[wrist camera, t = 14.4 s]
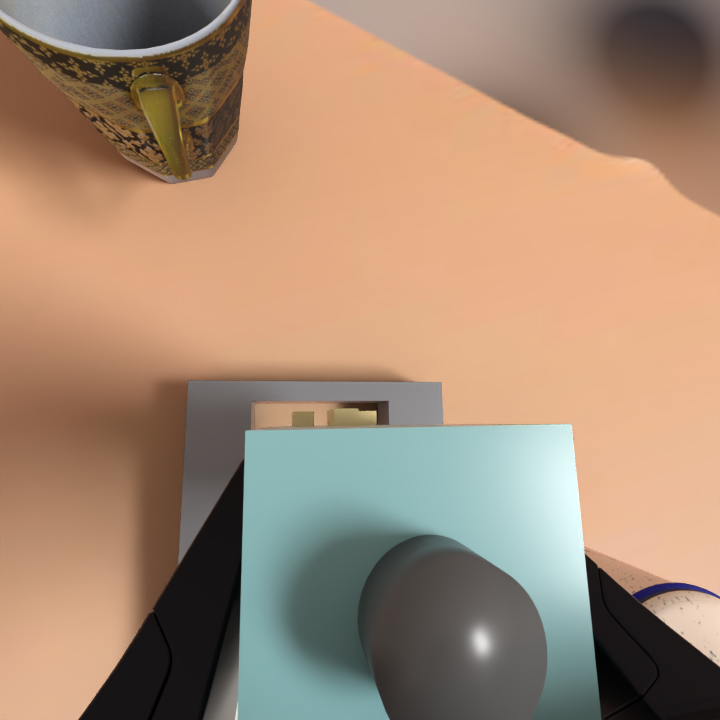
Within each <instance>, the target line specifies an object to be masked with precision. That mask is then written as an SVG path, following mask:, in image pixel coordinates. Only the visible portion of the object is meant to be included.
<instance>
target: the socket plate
mask: <svg viewBox="0 0 720 720" xmlns="http://www.w3.org/2000/svg"><path fill="white" fill-rule="evenodd" d="M255 403H378V425H443V407H442V384H441V382H339V381H198V380H188V393H187V411H186V430H185V448H184V466H183V485H182V503H181V521H180V540H179V558H178V565H179V563H180V562H181V560H182V558H183V557H184V555H185V553H186V552H187V550H188V548H189V547H190V545H191V543H192V542H193V540H194V538H195V537H196V535H197V533H198V532H199V530H200V529H201V527H202V525H203V524H204V522H205V520H206V519H207V517H208V515H209V514H210V512H211V510H212V509H213V507H214V505H215V504H216V502H217V500H218V499H219V497H220V495H221V494H222V492H223V490H224V489H225V487H226V486H227V484H228V482H229V481H230V479H231V477H232V476H233V474H234V472H235V471H236V469H237V467H238V466H239V464H240V462H241V461H242V460H243V459H244V458H245V431H247V430H254V421H255Z"/></svg>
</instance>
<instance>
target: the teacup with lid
mask: <svg viewBox="0 0 720 720" xmlns="http://www.w3.org/2000/svg"><path fill="white" fill-rule="evenodd" d="M584 552H585V554H586V555H587V556H588V557H590V558H591V559H592V560H593V561H594V562H595V563H596V564H597V565H598V567H600V568H602V569H603V570H604V571H605V572H606V573H607V574H608V575H610V576H611V577H612V578H613V579H614V580H615V581H616V582H617V583H618V584H620V585H621V586H622V587H623V588H624V589H625V590H626V591H628V592H629V593H630V594H631V595H632V596H633V597H634V598H636V599H637V600H638V601H639V602H640V603H641V604H643V605H644V606H645V607H646V608H647V609H649V610H650V611H651V612H652V613H653V614H655V615H656V616H657V617H658V618H660V619H661V620H662V621H663V622H664V623H666V624H667V625H668V626H669V627H671V628H672V629H673V630H674V631H676V632H677V633H678V634H679V635H681V636H682V637H683V638H684V639H686V640H687V641H688V642H689V643H691V644H692V645H693V646H694V647H696V648H697V649H698V650H699V651H701V652H702V653H703V654H704V655H706V656H707V657H708V658H709V659H711V660H712V661H713V662H715V663H716V664H717V665H718V666H720V597H719V596H718V595H716V594H714V593H712V592H710V591H708V590H706V589H703V588H701V587H698V586H694V585H690V584H686V583H673V582H670V581H668V580H665V579H663V578H661V577H658V576H656V575H653V574H651V573H648V572H646V571H643V570H641V569H639V568H636V567H634V566H631V565H629V564H626V563H624V562H621V561H619V560H616V559H614V558H612V557H609V556H607V555H604V554H602V553H599V552H597V551H594V550H592V549H590V548H587V547H585V546H584Z"/></svg>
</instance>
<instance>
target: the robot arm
mask: <svg viewBox="0 0 720 720" xmlns="http://www.w3.org/2000/svg"><path fill="white" fill-rule="evenodd" d="M244 463H245V458H244V459H243V460H242V461H241V462H240V464H239V466H238V467H237V469H236V471H235V472H234V474H233V476H232V477H231V479H230V481H229V482H228V484H227V486H226V487H225V489H224V490H223V492H222V494H221V495H220V497H219V499H218V500H217V502H216V504H215V505H214V507H213V509H212V510H211V512H210V514H209V515H208V517H207V519H206V520H205V522H204V524H203V525H202V527H201V529H200V530H199V532H198V533H197V535H196V537H195V538H194V540H193V542H192V543H191V545H190V547H189V548H188V550H187V552H186V553H185V555H184V557H183V558H182V560H181V562H180V563H179V565H178V567H177V568H176V570H175V572H174V573H173V575H172V576H171V578H170V580H169V581H168V583H167V585H166V586H165V588H164V590H163V591H162V593H161V595H160V596H159V598H158V600H157V601H156V603H155V605H154V606H153V608H152V610H153V612H154V613H153V612H150V613H149V614H148V616H147V617H146V619H145V621H144V622H143V624H142V626H141V627H140V629H139V631H138V632H137V634H136V636H135V637H134V639H133V640H132V642H131V643H130V645H129V647H128V648H127V650H126V651H125V653H124V654H123V656H122V658H121V659H120V661H119V662H118V664H117V665H116V667H115V669H114V670H113V671H112V673H111V674H110V676H109V677H108V678H107V680H106V681H105V683H104V684H103V686H102V687H101V688H100V690H99V691H98V693H97V694H96V696H95V697H94V698H93V700H92V701H91V703H90V704H89V706H88V707H87V708H86V710H85V711H84V712H83V714H82V715H81V717H80V718H79V719H78V720H235V716H236V709H237V703H238V681H239V645H240V608H241V572H242V535H243V499H244ZM585 562H586V572H587V582H588V592H589V602H590V612H591V622H592V631H593V641H594V651H595V661H596V671H597V681H598V691H599V701H600V710H601V720H720V666H718V665H717V664H716V663H715V662H713V661H712V660H711V659H709V658H708V657H707V656H706V655H704V654H703V653H702V652H701V651H699V650H698V649H697V648H696V647H694V646H693V645H692V644H691V643H689V642H688V641H687V640H686V639H684V638H683V637H682V636H681V635H679V634H678V633H677V632H676V631H674V630H673V629H672V628H671V627H669V626H668V625H667V624H666V623H664V622H663V621H662V620H661V619H660V618H658V617H657V616H656V615H655V614H653V613H652V612H651V611H650V610H649V609H647V608H646V607H645V606H644V605H643V604H641V603H640V602H639V601H638V600H637V599H636V598H634V597H633V596H632V595H631V594H630V593H629V592H628V591H626V590H625V589H624V588H623V587H622V586H621V585H620V584H618V583H617V582H616V581H615V580H614V579H613V578H612V577H611V576H610V575H608V574H607V573H606V572H605V571H604V570H603V569H602V568H600V567H598V565H597V564H596V563H595V562H594V561H593V560H592V559H591V558H590V557H588V556H587V555H586V554H585Z"/></svg>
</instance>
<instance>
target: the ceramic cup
mask: <svg viewBox="0 0 720 720" xmlns="http://www.w3.org/2000/svg"><path fill="white" fill-rule="evenodd" d="M251 4H252V0H0V30H1V31H2V32H3V33H4V34H5V35H6V36H7V37H8V38H9V39H10V40H11V41H12V42H13V44H14V45H15V46H16V47H17V48H18V49H19V50H20V51H21V52H22V53H23V54H24V55H25V56H26V57H27V58H28V59H29V61H30V62H31V63H32V64H33V65H34V66H35V67H36V68H37V69H38V70H39V71H40V72H41V73H42V74H43V75H44V76H45V77H46V78H47V79H48V80H50V81H51V82H52V83H53V84H54V85H55V86H56V87H57V88H58V89H59V90H61V91H62V92H63V93H64V94H65V95H66V96H67V98H68V99H69V100H70V101H71V102H72V103H73V104H74V106H75V107H76V108H77V109H78V110H79V111H80V112H81V113H82V114H83V115H84V116H85V117H86V118H87V119H88V120H89V121H90V122H91V123H92V124H93V126H94V127H95V128H96V129H97V130H98V131H99V132H100V133H101V134H102V135H103V136H104V137H105V138H106V139H107V140H108V141H109V143H110V144H111V145H112V146H113V147H114V148H115V149H116V150H117V151H118V152H119V153H120V154H121V155H122V156H123V157H124V158H125V159H127V160H128V161H130V162H132V163H134V164H135V165H137V166H139V167H141V168H143V169H144V170H146V171H148V172H150V173H152V174H153V175H155V176H157V177H159V178H161V179H162V180H164V181H166V182H168V183H171V184H174V183H180V182H186V181H191V180H197V179H203V178H208V177H212V176H213V175H214V174H215V173H216V171H217V170H218V168H219V167H220V165H221V164H222V162H223V161H224V160H225V158H226V157H227V155H228V154H229V152H230V151H231V149H232V148H233V146H234V145H235V143H236V141H237V136H238V129H239V115H240V105H241V96H242V87H243V70H244V65H245V60H246V54H247V47H248V39H249V28H250V17H251Z"/></svg>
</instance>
